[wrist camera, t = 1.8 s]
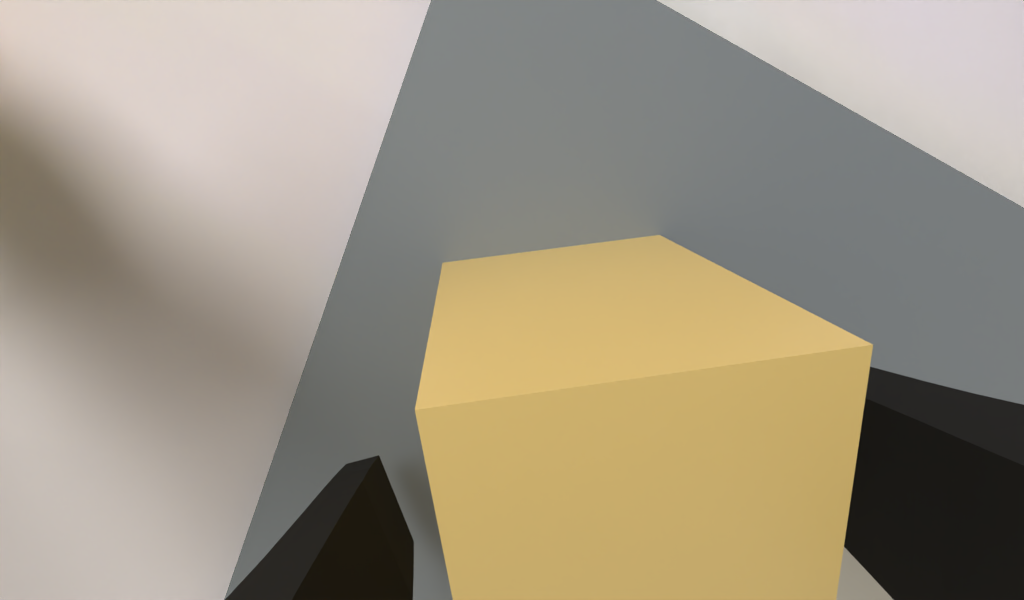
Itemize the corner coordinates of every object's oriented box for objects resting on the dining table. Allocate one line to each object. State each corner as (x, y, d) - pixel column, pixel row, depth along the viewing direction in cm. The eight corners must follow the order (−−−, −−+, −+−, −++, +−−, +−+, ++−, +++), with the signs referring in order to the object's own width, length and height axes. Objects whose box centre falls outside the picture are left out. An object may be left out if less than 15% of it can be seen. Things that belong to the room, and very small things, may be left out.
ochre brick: (659, 234, 9) (872, 344, 4) (662, 533, 11) (804, 820, 7) (442, 262, 9) (414, 409, 4) (490, 560, 11) (508, 876, 6)
